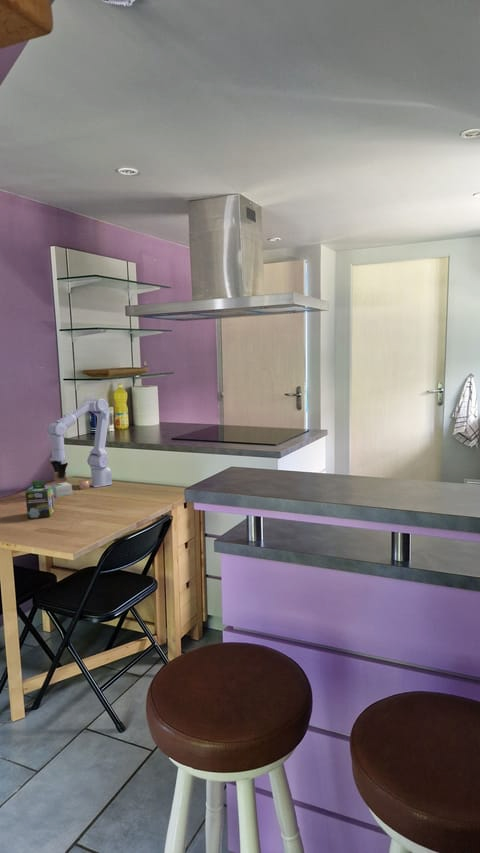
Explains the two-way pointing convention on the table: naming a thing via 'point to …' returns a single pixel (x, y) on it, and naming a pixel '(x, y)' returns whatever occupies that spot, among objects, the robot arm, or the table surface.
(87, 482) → the peach capsule cylinder
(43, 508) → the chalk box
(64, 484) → the small box
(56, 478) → the walnut block
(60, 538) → the table surface
